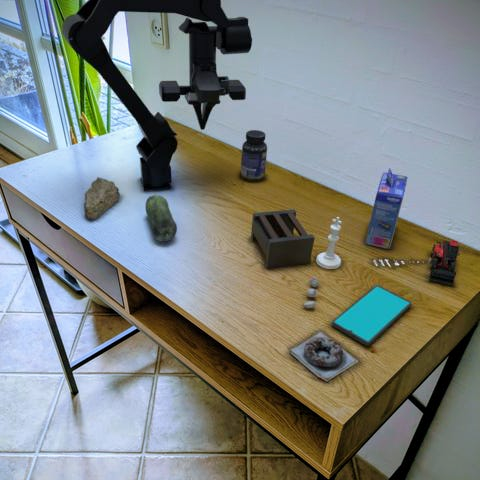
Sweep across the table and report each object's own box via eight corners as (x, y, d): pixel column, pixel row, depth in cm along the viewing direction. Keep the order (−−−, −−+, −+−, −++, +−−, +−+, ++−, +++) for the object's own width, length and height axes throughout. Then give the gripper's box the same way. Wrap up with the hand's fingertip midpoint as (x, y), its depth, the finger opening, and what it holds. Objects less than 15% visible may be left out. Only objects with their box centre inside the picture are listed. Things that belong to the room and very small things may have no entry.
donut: (287, 350, 78) (289, 341, 77) (321, 332, 82) (323, 323, 81) (324, 383, 74) (327, 373, 72) (358, 362, 78) (361, 352, 76)
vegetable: (140, 194, 105) (163, 187, 105) (147, 214, 108) (168, 208, 109) (151, 229, 95) (176, 221, 96) (158, 250, 99) (182, 243, 99)
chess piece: (334, 272, 96) (344, 227, 89) (311, 263, 97) (320, 218, 91) (344, 260, 99) (355, 216, 92) (322, 252, 101) (331, 208, 94)
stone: (62, 204, 103) (72, 225, 106) (92, 199, 101) (102, 221, 104) (89, 178, 113) (98, 197, 116) (117, 173, 111) (125, 193, 114)
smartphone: (412, 302, 88) (368, 343, 80) (411, 306, 89) (367, 346, 80) (376, 284, 92) (331, 321, 83) (375, 287, 92) (330, 325, 84)
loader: (452, 287, 94) (461, 266, 91) (428, 281, 95) (436, 261, 92) (452, 254, 103) (460, 234, 100) (430, 249, 104) (437, 230, 101)
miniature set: (370, 261, 100) (373, 254, 99) (424, 259, 102) (427, 252, 101) (376, 270, 98) (378, 263, 96) (431, 268, 100) (434, 261, 99)
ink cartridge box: (369, 222, 111) (385, 160, 101) (394, 227, 110) (413, 165, 100) (363, 244, 104) (379, 180, 94) (389, 250, 103) (409, 185, 93)
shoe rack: (267, 268, 95) (270, 242, 91) (250, 238, 103) (252, 213, 99) (310, 263, 97) (314, 237, 93) (290, 234, 105) (294, 209, 101)
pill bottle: (264, 183, 123) (268, 139, 115) (240, 181, 122) (242, 137, 115) (264, 172, 127) (268, 129, 120) (240, 170, 127) (243, 127, 120)
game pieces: (319, 283, 92) (308, 284, 93) (318, 274, 91) (307, 275, 91) (315, 312, 87) (304, 312, 87) (314, 303, 85) (302, 303, 86)
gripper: (163, 66, 97) (167, 144, 107) (254, 66, 101) (249, 141, 111) (156, 51, 105) (160, 125, 115) (241, 51, 109) (237, 123, 119)
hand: (202, 129), depth 115 cm, fingers closed
